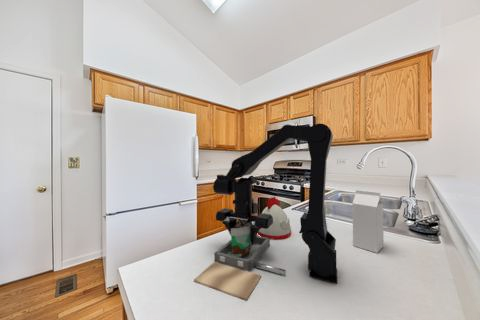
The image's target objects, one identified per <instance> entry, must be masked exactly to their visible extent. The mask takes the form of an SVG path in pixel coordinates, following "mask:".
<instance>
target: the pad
mask: <svg viewBox="0 0 480 320" xmlns="http://www.w3.org/2000/svg"><path fill="white" fill-rule="evenodd" d="M261 278H262V275H261V274H257V273H254V272H251V271H247V270H244V269H240V268H237V267H233V266H230V265H226V264H223V263H219V262H216V261H213V262H212V263H211V264H210V265H208V267H206V268H205V269H204V270H203V271H202V272H201V273H200V274H199V275H197V277H195V278H194V279H193V282H195V283H197V284H201V285H203V286H206V287H208V288H211V289H214V290H216V291H219V292H222V293H224V294H227V295H230V296H233V297H235V298H238V299H240V300H244V301H246V302H247V301H248V300H249V298H250V297H251V295H252V293H253V291H254V290H255V288H256V286H257V285H258V284H259V282H260V280H261Z"/></svg>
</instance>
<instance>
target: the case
mask: <svg viewBox="0 0 480 320" xmlns="http://www.w3.org/2000/svg"><path fill="white" fill-rule="evenodd" d="M254 245H260V246H259V247H258V248H257V249H256V250H255V252H254V253H253V254H252V255H251V256H250V257H249V259H247V258H239V257H236V256H232V254H228V253H229V252H230V251H232V244H231V239H230V240H228V242H226V243H225V244H224V245H223V246H222V247H220V248H219V249H218V250H216V251H215V252H214V262H216V263H219V264H223V265H226V266H230V267H233V268H237V269H240V270H244V271H247V272H251V271H252V270H253V269H254V268H255V267H253V263H254V262H258V263H259V261H260V260H261V258H262V257H263V255H264V254H265V253H266V252H267V250H268V248H269V247H270V246H271V240H270V238H265V237H260V236H259V235H257V236H256V239H255V242H254Z"/></svg>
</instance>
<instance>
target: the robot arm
mask: <svg viewBox="0 0 480 320" xmlns="http://www.w3.org/2000/svg"><path fill="white" fill-rule="evenodd" d="M333 134H334V133H333V132H332V130H331V128H330V127H329V126H328V125H326V123H325V124H324V123H315V124H313V125H311V126H310V125H291V124H289V123H288V124H284V125H283V126H282V127H281V128H280V129H279V130H278V131H277V132H275V133H274V134H273V135H272V136H270V137H269V138H267V139H266V140H265V141H264V142H262V143H261V144H259V145H258V146H257V147H256V148H255V149H253V150H252V151H250V152H248V153H245V154H243V155H241V156H239V157H237V158H235V159H234V160H232V161H231V167H230V169H229V171H228V172H227V173H226V175H225V174H218V175H217V174H216V179H215V180H214V182H213V186H212V189H213V192H214V193H215V194H216V195H217V194H218V195H226V196H232V195H234V199H233V200H232V205H234V210H233V209H232V208H231V209H230V208H226V207H225V208H221V209H220V210H218V211H217V212H215V221H218V222H219V221H220V222H221V223H222V225H224V226H225V228H226V229H227V231H228V234H229V235H230V236H231V228H234V226H235V224H236V223H237V222H238V220H244V221H250V222H252V223H253V225H252V226H251V227H250V234H251V246H252V247H253V246H254V245H255V243H254V242H255V239H256V236H258V234H257V233H258V231H259V230H260V229H261V228H264V229H268V228H269V227H270V226H271V225H272V224H273V217H272V216H271V215H270V214H263V213H262V212H261V213H259V214H260V215H259V214H258V211H259V203H256V202H254V198H253V197H252V196H253V194H252V193H253V188H252V185H255V184H257V183H258V179H256V178H255V177H254V176H253V175H251V174H253V172H255V170H257V168H258V167H259V166H260V164H262V161H265V159H267V158H268V157H269V156H271V155H272V154H274V153H275V152H277V151H278V150H279V149H280V148H282V147H283V146H284V145H286V144H288V143H289V142H290V141H291V140H294V141H295V140H296V141H302V142H307V147H308V152H309V155H310V156H309V157H310V170H309V171H310V172H309V188H308V190H309V191H308V207H307V209H308V210H307V212H303V214H302V215H301V217H300V219H299V220H300V221H299V222H300V230H299V234H301V239H302V242H304V243H305V244H306V245H307V247H308V249H309V251H308V255H307V267H308V269H307V270H308V271H309V275H308V276H309V277H310V278H314V279H318V280H321V281H326V282H329V283H332V284H338V268H337V250H336V242H337V241H336V240H337V239H336V238H335V237H334V236H333V234H331V232H330V231H328V225H327V219H326V214H325V194H326V179H327V178H326V177H327V176H326V175H327V160H328V156H329V153H330V150H331V147H332V142H333V138H334V135H333ZM245 176H248V177H245ZM254 214H258V215H254Z"/></svg>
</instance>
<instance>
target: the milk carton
mask: <svg viewBox="0 0 480 320" xmlns="http://www.w3.org/2000/svg"><path fill="white" fill-rule="evenodd" d="M384 245H385V243H384V202H383V199H382V198H381V192H376V191H375V192H374V191H367V190H366V191H364V190H359V189H358V190H355V195H354V198H353V200H352V246H354V247H356V248H360V249H362V250H366V251H370V252H372V253H375V254H378V253H379V252H380V250H381V249H383V247H384Z"/></svg>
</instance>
